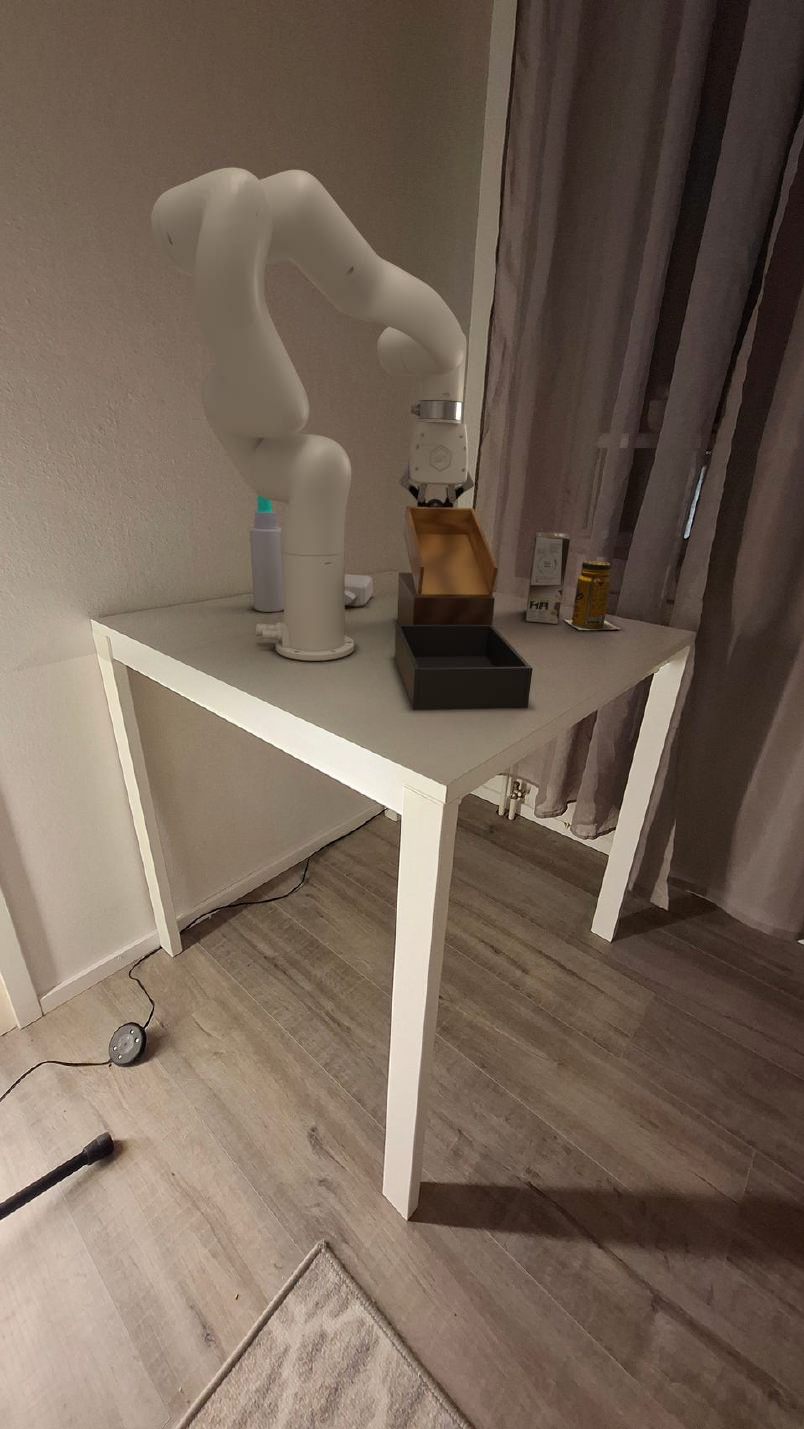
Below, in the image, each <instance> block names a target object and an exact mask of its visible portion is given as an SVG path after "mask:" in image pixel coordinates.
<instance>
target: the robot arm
mask: <svg viewBox="0 0 804 1429" xmlns="http://www.w3.org/2000/svg"><path fill="white" fill-rule="evenodd" d="M150 231H151V236H152V239H153V242H154V244H155V247H156V249H157V251H158V252H159V254H160V256H161V257H162V258H163V259H164V261H165V262H166V263H167V264H168V265H169V266H170V267H171V268H172V269H174V270H175V271H177V272H178V273H180V274H182V275H185V276H189V277H194V278H193V305H194V306H193V307H194V312H195V318H196V322H197V325H198V328H199V331H200V333H201V336H202V339H203V340H204V342H205V345H206V346H207V348H208V350H209V352H210V354H211V356H212V358H213V360H214V362H215V364H214V365H213V366H212V367H211V368H210V369H209V370H208V371H207V372H206V373H205V376H204V378H203V380H202V385H201V395H200V396H201V403H202V404H201V405H202V408H203V411H204V415H205V418H206V421H207V423H208V424H209V426H210V428H211V430H212V432H213V434H214V435H215V437H216V438H217V440H218V441H219V443H220V444H221V446H222V448H223V450H224V451H225V452H226V454H227V456H228V457H229V459H230V460H231V462H232V464H233V465H234V467H235V468H236V470H237V471H238V473H239V474H240V476H241V478H242V479H243V481H244V482H245V483H246V485H247V486H248V487H249V488H250V490H252V491H253V492H254V493H255V494H256V496H257V495H259V496H261V497H263V498H265V499H268V500H271V501H273V502H279V503H286V504H287V509H286V512H285V514H284V517H283V520H282V524H281V556H282V579H283V602H284V609H283V617H282V621H276V624H268V623H256V625H255V632H256V637H262V639H263V640H268V639H269V640H270V639H271V640H272V639H277V640H276V641H275V651H276V652H277V653H278V654H279V655H280V656H282V657H286V658H288V659H293V660H297V661H298V660H299V661H309V662H310V661H311V662H313V661H314V662H315V661H316V662H317V661H318V662H319V661H330V660H336V659H341V658H345V657H346V656H348V655H350V654H352V653H353V652H354V651H355V641H354V640H353V638H351V637H349V636H348V635H346V634H345V633H346V626H345V625H346V622H345V621H346V616H345V615H346V613H345V612H346V609H345V608H346V606H345V574H346V573H345V526H346V512H347V505H348V500H349V494H350V490H351V485H352V484H351V483H352V465H351V461H350V458H349V456H348V453H347V452H346V450H345V449H344V448H343V447H342V446H341V444H339V443H338V442H337V441H335V439H332V438H329V437H326V436H323V435H318V434H308V433H298V432H300V431H301V430H302V429H304V427H305V426H306V425H307V423H308V421H309V416H310V403H309V397H308V395H307V392H306V389H305V387H304V385H303V383H302V381H301V378H300V377H299V374H298V372H297V370H296V367H295V366H294V364H293V361H292V360H291V358H290V356H289V354H288V351H287V349H286V347H285V345H284V343H283V341H282V339H281V337H280V335H279V333H278V330H277V329H276V326H275V324H274V322H273V319H272V317H271V313H270V310H269V309H268V308H269V307H268V305H267V301H266V294H265V272H266V266H269V265H274V264H280V263H283V262H291V263H292V264H293V265H295V267H297V269H298V270H299V271H300V272H301V273H302V274H303V275H304V276H305V277H306V278H307V279H308V280H309V281H310V283H312V284H313V286H314V287H315V288H316V289H317V290H318V291H319V292H320V293H321V294H322V295H323V296H324V297H325V298H326V299H327V301H328V302H329V303H331V305H332V306H333V307H334V308H335V309H336V310H337V311H338V312H340V313H342V314H344V315H346V316H349V317H351V318H354V319H357V320H361V321H364V322H368V323H372V324H378V325H382V326H386V328H385V329H384V330H383V331H382V332H381V334H380V336H379V337H378V339H377V344H376V355H377V358H378V361H379V364H380V366H381V367H382V368H383V369H384V370H385V371H386V372H387V373H388V374H390V375H392V376H394V377H398V378H412V377H419V390H418V402H417V403H416V404H414V405H410V406H409V415H414V416H416V417H417V421H414V422H413V427H412V432H411V437H410V438H411V439H410V444H409V453H408V465H407V466H406V468H405V470H404V472H402V475H401V476H400V478H399V480H398V485H399V486H400V487H402V488H404V489H405V491H407V492H409V493H410V494H411V495H412V496H413V498H414V499H415V500H416V502H417V503H416V507H427V502H426V494H427V489H428V485H435V486H436V485H437V486H438V485H439V486H445V499H444V501H443V504H444V507H445V508H454V504H455V503H456V501H457V500H458V499H459V498H460V497H461V496H462V495H463V494H465V492H467V491H469V490H471V489H472V488H474V486H475V482H474V481H473V479H472V476H471V474H470V472H469V470H468V468H469V467H468V466H469V465H468V464H469V460H468V459H469V458H468V456H469V451H468V450H469V449H468V448H469V445H468V444H469V443H468V429H467V424H466V423H462V422H463V421H462V418H463V407H464V406H463V405H464V392H465V391H464V388H465V377H466V375H465V374H466V362H467V361H466V359H467V348H468V344H467V343H468V342H467V337H466V335H465V334H464V332H463V330H462V327H461V325H460V322H459V321H458V319H457V317H456V316H455V314H454V312H453V311H452V310H451V309H450V307H449V306H448V305H447V303H446V302H445V300H444V299H443V298H442V296H441V295H440V294H439V293H438V292H437V291H436V290H435V289H433V287H431V286H430V285H428V284H427V283H426V282H424V281H423V280H421V279H419V278H418V277H416V276H415V275H412V274H410V273H409V272H407V271H406V270H404V269H402V268H400V266H397V265H396V264H393V263H392V262H389V261H388V260H385V259H384V258H382V257H381V256H380V255H378V254H377V253H376V252H375V250H374V249H373V248H372V247H371V245H370V244H369V243H368V241H367V240H366V239H365V238H364V237H363V236H362V233H360V232H359V230H358V229H357V228H356V226H355V225H354V224H353V222H352V221H351V220H350V218H349V217H348V216H347V215H346V213H345V212H344V211H343V210H342V209H341V207H340V205H338V203H337V202H336V200H335V199H334V198H333V197H332V196H331V194H330V193H329V192H328V191H327V189H326V188H325V187H324V185H323V184H322V183H321V182H320V181H319V180H318V179H317V177H315V176H314V175H312V174H311V173H310V172H308V171H306V170H303V169H289V170H285V171H281V172H278V173H275V174H272V175H270V176H267V177H264V178H260V179H259V178H258V177H257V176H256V175H255V174H253V173H252V172H250V171H249V170H247V169H244V168H240V167H234V166H233V167H225V168H218V169H216V170H213V171H209V172H207V173H204V174H201V175H199V176H197V177H195V178H194V179H191V180H189V181H187V182H184V183H181V184H179V185H176V186H174V187H172V188H169V189H168V190H166V191H164V192H162V194H160V196H159V197H158V198H157V200H156V201H155V203H154V205H153V207H152V211H151V215H150ZM409 481H411V482H413V483H415V484H417V487H416V486H415V485H413V484H412V483H410V482H409ZM456 486H457V487H456Z"/></svg>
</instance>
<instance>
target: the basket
mask: <svg viewBox="0 0 804 1429" xmlns="http://www.w3.org/2000/svg"><path fill="white" fill-rule="evenodd" d="M394 638H395V641H394V642H395V644H394V660H395V663H396V666H397V669H398V671H399V674H400V678H401V680H402V683H403V685H404V689H405V692H406V694H407V698H408V700H409V703H410V705H411V708H412V710H414V711H415V710H416V711H418V710H419V711H420V710H459V709H460V710H463V709H464V710H469V709H470V710H471V709H473V710H474V709H522V708H523V709H526V708H527V709H528V707H529V699H530V692H531V686H532V685H531V683H532V676H533V668H534V667H532V665H530V664H529V663H528V662H527V660H526V659H525V658H524V657H523V656H522V655H521V654H520V653H519V652H518V651H517V650H516V649H515V647H513V645H512V644H511V643H510V642H509V641H508V640H507V639H506V638H505V637H504V636H503V634H501V633H500V632H499V631H498V629H497V628H496V627H494V625H493V624H492V625H399V624H395V637H394Z"/></svg>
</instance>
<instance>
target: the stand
mask: <svg viewBox="0 0 804 1429" xmlns="http://www.w3.org/2000/svg"><path fill="white" fill-rule="evenodd" d="M397 584H398V586H397V588H398V589H397V615H396V617H397V619H396V621H397V622H398V625H493V622H494V621H493V619H494V610H495V599H496V598H495V597H494V596H493V595H492V598H481V597H417V593H416V589H415V584H414V579H413V575H412V572H398V583H397Z"/></svg>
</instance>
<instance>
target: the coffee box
mask: <svg viewBox="0 0 804 1429" xmlns="http://www.w3.org/2000/svg"><path fill="white" fill-rule="evenodd" d="M570 544H571V538H570V535H569V533H567V532H549V531H547V532H542V531H538V532H537V531H536V532H535V536H534V541H533V551H532V558H531V566H530V576H529V584H528V592H527V600H526V601H527V602H526V603H527V604H526V613H525V614H526V615H525V621H526V622H531V623H532V622H533V623H541V624H543V623H544V624H552V625H557V624H558V623H559V617H560V610H561V605H562V598H563V591H564V583H565V577H566V573H567V572H566V571H567V564H568V558H569V552H570Z"/></svg>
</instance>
